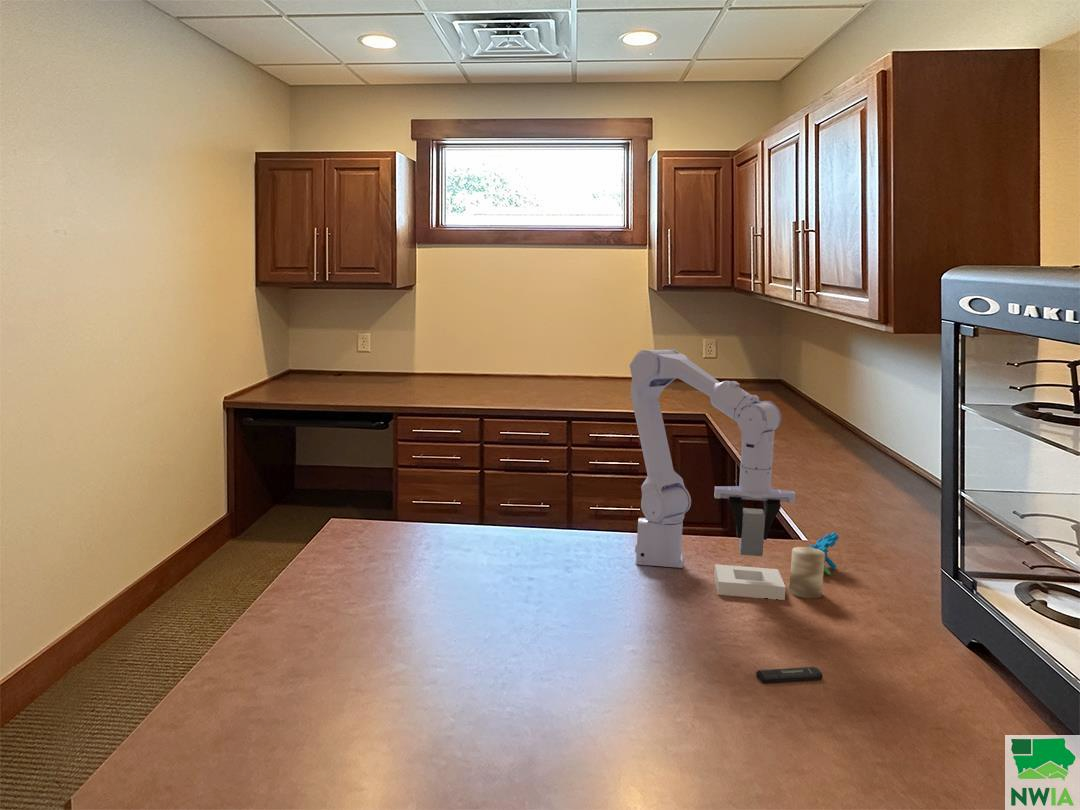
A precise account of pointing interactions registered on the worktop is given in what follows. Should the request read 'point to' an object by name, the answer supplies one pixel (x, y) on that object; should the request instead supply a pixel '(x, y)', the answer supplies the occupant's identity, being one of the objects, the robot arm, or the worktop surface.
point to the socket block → (749, 582)
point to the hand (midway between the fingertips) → (751, 537)
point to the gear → (823, 545)
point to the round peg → (807, 572)
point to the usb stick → (789, 675)
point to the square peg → (752, 532)
